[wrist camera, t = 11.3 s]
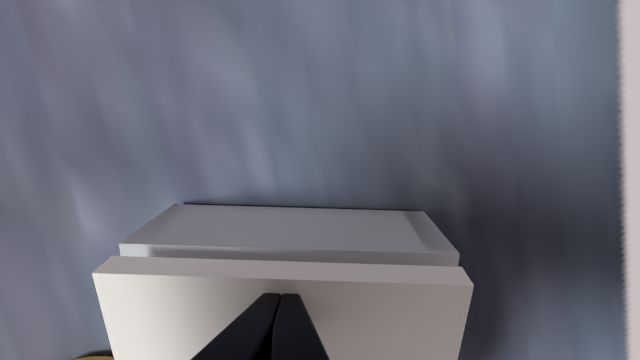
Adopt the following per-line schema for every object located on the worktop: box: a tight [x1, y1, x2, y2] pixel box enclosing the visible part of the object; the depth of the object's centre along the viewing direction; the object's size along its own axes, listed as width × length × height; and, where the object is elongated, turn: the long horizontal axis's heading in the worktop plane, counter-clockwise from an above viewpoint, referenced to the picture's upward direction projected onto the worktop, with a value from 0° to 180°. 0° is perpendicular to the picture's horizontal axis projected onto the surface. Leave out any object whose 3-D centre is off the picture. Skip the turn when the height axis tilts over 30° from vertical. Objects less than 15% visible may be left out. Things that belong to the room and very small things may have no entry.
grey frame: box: [119, 204, 460, 267], centre depth 11 cm, size 7×9×3 cm
